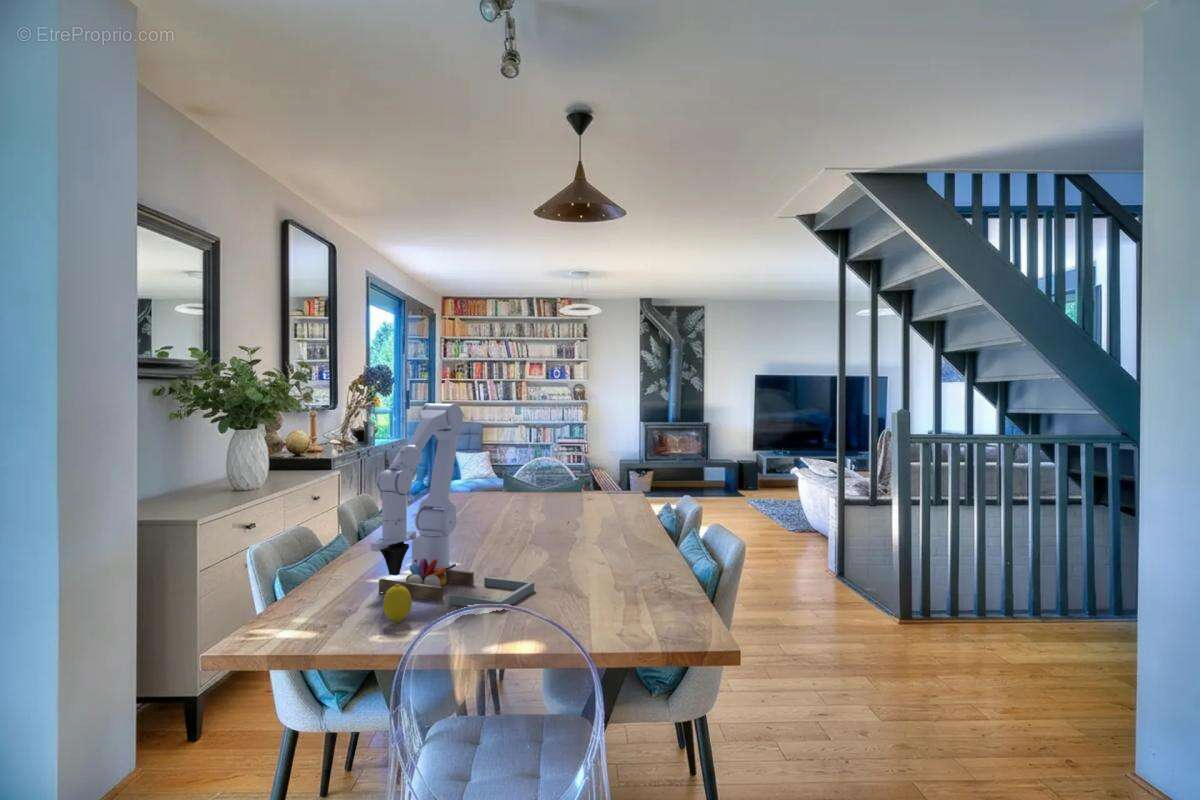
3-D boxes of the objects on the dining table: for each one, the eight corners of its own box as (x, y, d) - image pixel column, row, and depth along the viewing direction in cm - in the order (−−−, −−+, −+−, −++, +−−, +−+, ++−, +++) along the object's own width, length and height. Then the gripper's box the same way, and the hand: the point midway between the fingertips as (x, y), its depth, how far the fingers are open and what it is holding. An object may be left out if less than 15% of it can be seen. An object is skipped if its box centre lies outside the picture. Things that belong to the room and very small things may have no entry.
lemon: (386, 618, 137) (386, 580, 137) (413, 618, 138) (413, 579, 138) (380, 628, 132) (380, 588, 132) (408, 627, 132) (408, 587, 132)
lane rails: (378, 592, 155) (378, 580, 155) (415, 577, 168) (415, 565, 168) (440, 601, 149) (440, 588, 149) (473, 584, 162) (473, 572, 162)
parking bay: (449, 604, 147) (449, 595, 147) (486, 584, 162) (486, 576, 162) (500, 611, 142) (500, 602, 142) (534, 590, 157) (534, 582, 157)
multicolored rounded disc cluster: (442, 594, 155) (442, 563, 155) (400, 593, 155) (400, 562, 155) (450, 583, 163) (450, 554, 163) (411, 583, 163) (411, 553, 163)
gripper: (388, 525, 153) (388, 584, 154) (426, 515, 167) (426, 568, 167) (363, 523, 156) (363, 580, 156) (403, 513, 170) (403, 565, 170)
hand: (394, 574), depth 162 cm, fingers closed
